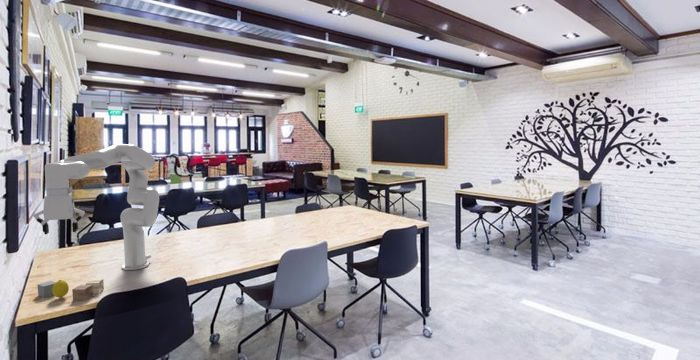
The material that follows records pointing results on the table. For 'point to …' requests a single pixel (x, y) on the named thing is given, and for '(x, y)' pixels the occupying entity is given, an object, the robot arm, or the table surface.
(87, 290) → the walnut cube
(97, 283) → the maple cube
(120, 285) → the table surface
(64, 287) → the lemon
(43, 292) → the blue-grey cube
